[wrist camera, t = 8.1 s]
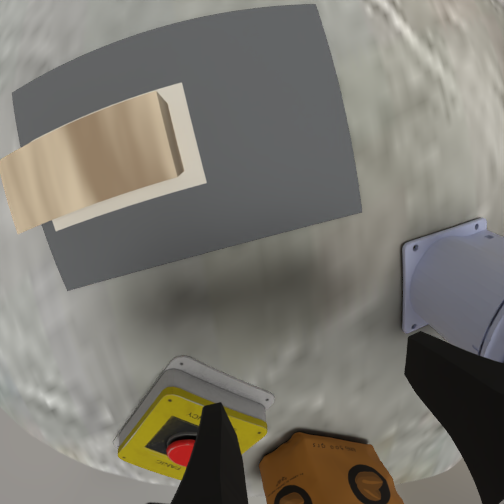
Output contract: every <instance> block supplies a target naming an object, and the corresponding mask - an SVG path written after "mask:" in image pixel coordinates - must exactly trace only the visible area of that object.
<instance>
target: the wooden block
mask: <svg viewBox="0 0 504 504" xmlns="http://www.w3.org/2000/svg"><path fill="white" fill-rule="evenodd" d="M183 172H184V167H183V163H182V159H181V156H180V152H179V148H178V144H177V140H176V136H175V132H174V128H173V124H172V120H171V115H170V111H169V107H168V103H167V102H166V101H165V100H164V99H163V98H162V97H161V96H160V94H159V93H158V92H157V91H153V92H150V93H147V94H144V95H141V96H138V97H135V98H132V99H129V100H126V101H124V102H121V103H118V104H115V105H113V106H110V107H107V108H105V109H102V110H100V111H97V112H95V113H92V114H90V115H88V116H85V117H83V118H81V119H78V120H76V121H74V122H71V123H69V124H67V125H65V126H63V127H61V128H58V129H56V130H54V131H52V132H50V133H48V134H46V135H44V136H42V137H40V138H38V139H36V140H34V141H32V142H31V143H29V144H27V145H25V146H23V147H21V148H19V149H18V150H16V151H14V152H12V153H11V154H9V155H7V156H6V157H4V158H2V159H0V174H1V178H2V183H3V186H4V190H5V194H6V198H7V201H8V205H9V208H10V211H11V215H12V218H13V221H14V224H15V227H16V230H17V233H18V234H20V233H22V232H24V231H27V230H29V229H31V228H34V227H36V226H38V225H41V224H43V223H46V222H48V221H51V220H53V219H56V218H58V217H61V216H63V215H66V214H68V213H71V212H74V211H76V210H79V209H82V208H84V207H87V206H90V205H93V204H96V203H98V202H101V201H104V200H107V199H110V198H113V197H116V196H119V195H122V194H125V193H128V192H131V191H134V190H137V189H140V188H143V187H146V186H149V185H153V184H156V183H159V182H163V181H166V180H169V179H173V178H176V177H178V176H179V175H180V174H182V173H183Z"/></svg>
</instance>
